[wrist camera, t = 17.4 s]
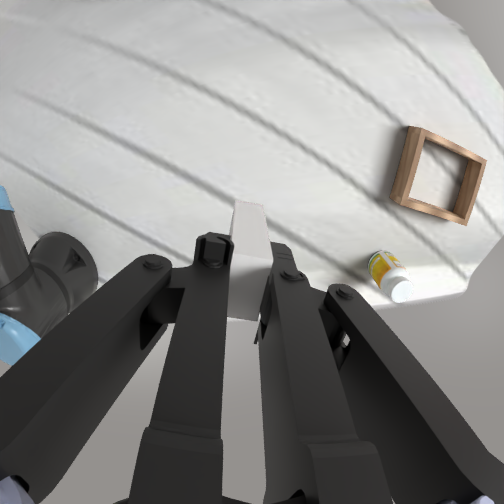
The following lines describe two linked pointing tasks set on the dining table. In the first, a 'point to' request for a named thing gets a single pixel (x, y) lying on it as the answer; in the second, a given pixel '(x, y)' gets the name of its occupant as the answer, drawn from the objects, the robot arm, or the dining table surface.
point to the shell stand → (410, 166)
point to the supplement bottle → (390, 276)
